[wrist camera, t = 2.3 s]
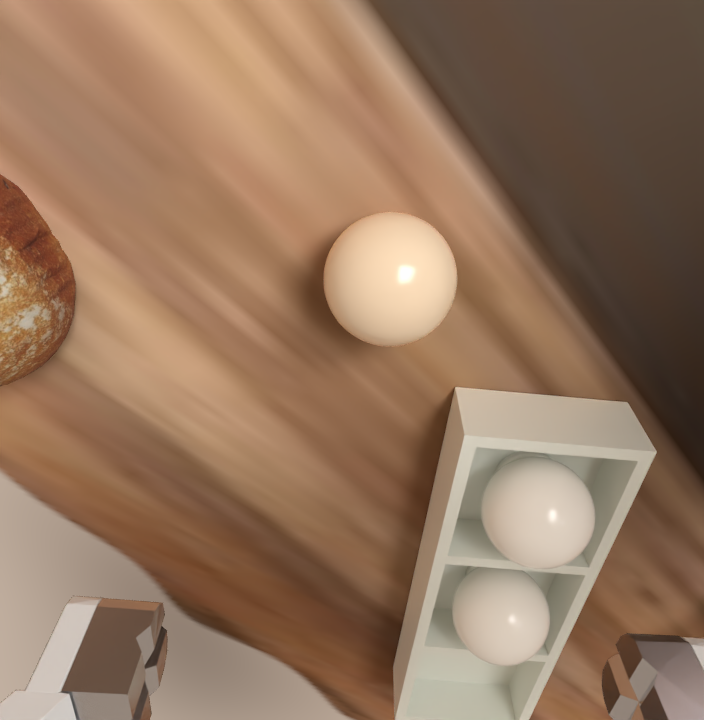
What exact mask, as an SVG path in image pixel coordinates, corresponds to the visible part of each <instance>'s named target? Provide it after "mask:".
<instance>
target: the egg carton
mask: <svg viewBox="0 0 704 720" xmlns="http://www.w3.org/2000/svg"><path fill="white" fill-rule="evenodd" d="M520 451H525V452H537V453H544V454H546V455H548V456H549V457H550V458H551V459H552V460H555V461H558V462H560V463H562V464H564V465H565V466H567V467H569V468H570V469H571V470H573V471H574V472H575V473H576V474H577V475H578V476H579V477H580V478H581V479H582V481H583V482H584V483H585V485H586V486H587V488H588V490H589V492H590V494H591V496H592V500H593V503H594V508H595V526H594V531H593V534H592V537H591V539H590V541H589V543H588V545H587V546H586V548H585V549H584V550H583V551H582V553H581V554H580V555H579V556H578V557H576V558H575V559H574V560H572V561H571V562H569V563H567V564H565V565H563V566H560V567H557V568H552V569H532V568H527V567H524V566H521V565H519V564H517V563H514V562H512V561H511V560H509V559H508V558H506V557H505V556H504V555H502V554H501V553H500V552H499V551H498V550H497V549H496V548H495V546H494V545H493V544H492V542H491V541H490V539H489V538H488V536H487V534H486V532H485V529H484V526H483V523H482V518H481V500H482V496H483V492H484V489H485V487H486V485H487V483H488V481H489V480H490V478H491V477H492V476H493V475H494V473H495V469H496V467H497V465H498V464H499V463H500V462H501V461H502V460H503V459H504V458H505V457H507V456H509V455H511V454H513V453H516V452H520ZM656 453H657V451H656V450H655V448H654V446H653V445H652V443H651V441H650V439H649V438H648V436H647V434H646V433H645V431H644V429H643V427H642V426H641V424H640V422H639V421H638V419H637V417H636V416H635V414H634V412H633V410H632V409H631V407H630V405H629V404H628V402H619V401H608V400H597V399H586V398H574V397H563V396H552V395H541V394H529V393H518V392H507V391H496V390H484V389H473V388H462V387H455V390H454V394H453V399H452V403H451V408H450V412H449V417H448V421H447V426H446V430H445V435H444V439H443V444H442V448H441V453H440V457H439V462H438V467H437V471H436V476H435V480H434V485H433V489H432V494H431V498H430V503H429V507H428V512H427V516H426V521H425V525H424V530H423V534H422V539H421V543H420V548H419V552H418V557H417V561H416V566H415V570H414V575H413V579H412V584H411V588H410V593H409V597H408V602H407V606H406V611H405V616H404V620H403V625H402V629H401V634H400V638H399V643H398V647H397V652H396V656H395V661H394V665H393V683H394V718H395V720H529V718H530V716H531V714H532V712H533V710H534V708H535V706H536V704H537V702H538V700H539V698H540V695H541V693H542V691H543V689H544V687H545V685H546V683H547V681H548V679H549V677H550V675H551V672H552V670H553V668H554V666H555V664H556V662H557V660H558V658H559V656H560V654H561V651H562V649H563V647H564V645H565V643H566V641H567V639H568V637H569V635H570V633H571V631H572V628H573V626H574V624H575V622H576V620H577V618H578V616H579V614H580V612H581V610H582V608H583V605H584V603H585V601H586V599H587V597H588V595H589V593H590V591H591V589H592V587H593V585H594V582H595V580H596V578H597V576H598V574H599V572H600V570H601V568H602V566H603V564H604V562H605V559H606V557H607V555H608V553H609V551H610V549H611V547H612V545H613V543H614V541H615V538H616V536H617V534H618V532H619V530H620V528H621V526H622V524H623V522H624V520H625V518H626V515H627V513H628V511H629V509H630V507H631V505H632V503H633V501H634V499H635V497H636V495H637V492H638V490H639V488H640V486H641V484H642V482H643V480H644V478H645V476H646V474H647V472H648V469H649V467H650V465H651V463H652V461H653V459H654V457H655V455H656ZM468 566H476V567H488V568H500V569H513V570H523V571H524V572H526V573H527V574H528V575H530V576H531V577H532V578H533V579H534V580H535V581H536V582H537V584H538V585H539V586H540V588H541V590H542V591H543V593H544V595H545V597H546V600H547V603H548V607H549V612H550V625H549V631H548V635H547V638H546V640H545V642H544V644H543V646H542V647H541V649H540V650H539V651H538V652H537V653H536V654H535V655H534V656H533V657H532V658H530V659H529V660H527V661H525V662H523V663H520V664H517V665H513V666H498V665H493V664H490V663H487V662H485V661H483V660H481V659H479V658H478V657H476V656H475V655H474V654H472V653H471V652H470V651H469V650H468V649H467V648H466V647H465V645H464V644H463V642H462V641H461V640H460V638H459V636H458V634H457V632H456V629H455V626H454V623H453V618H452V602H453V597H454V593H455V591H456V589H457V586H458V585H459V583H460V582H461V580H462V579H463V578H464V576H465V572H466V569H467V567H468Z"/></svg>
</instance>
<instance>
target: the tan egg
mask: <svg viewBox="0 0 704 720" xmlns="http://www.w3.org/2000/svg"><path fill="white" fill-rule="evenodd" d="M456 288H457V269H456V263H455V259H454V256H453V254H452V251H451V249H450V247H449V245H448V243H447V242H446V241H445V239H444V238H443V236H442V235H441V234H440V233H439V232H438V231H437V230H436V229H435V228H434V227H432V226H431V225H430V224H429V223H427V222H425V221H424V220H422V219H420V218H418V217H416V216H413V215H409V214H406V213H400V212H381V213H377V214H372V215H369V216H367V217H364V218H362V219H360V220H358V221H356V222H355V223H353V224H352V225H350V226H349V227H348V228H347V229H346V230H344V231H343V232H342V234H341V235H340V236H339V237H338V238H337V240H336V241H335V243H334V244H333V246H332V247H331V250H330V252H329V254H328V257H327V260H326V263H325V268H324V292H325V296H326V299H327V303H328V305H329V308H330V310H331V312H332V313H333V315H334V317H335V318H336V320H337V321H338V322H339V323H340V324H341V326H342V327H343V328H344V329H345V330H347V331H348V332H349V333H351V334H352V335H353V336H355V337H356V338H358V339H360V340H362V341H364V342H367V343H370V344H373V345H378V346H388V347H392V346H401V345H406V344H410V343H413V342H415V341H418V340H420V339H422V338H423V337H425V336H427V335H428V334H429V333H431V332H432V331H433V330H434V329H435V328H437V327H438V326H439V325H440V323H441V322H442V321H443V320H444V318H445V317H446V315H447V314H448V312H449V310H450V308H451V306H452V304H453V301H454V298H455V294H456Z"/></svg>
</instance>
